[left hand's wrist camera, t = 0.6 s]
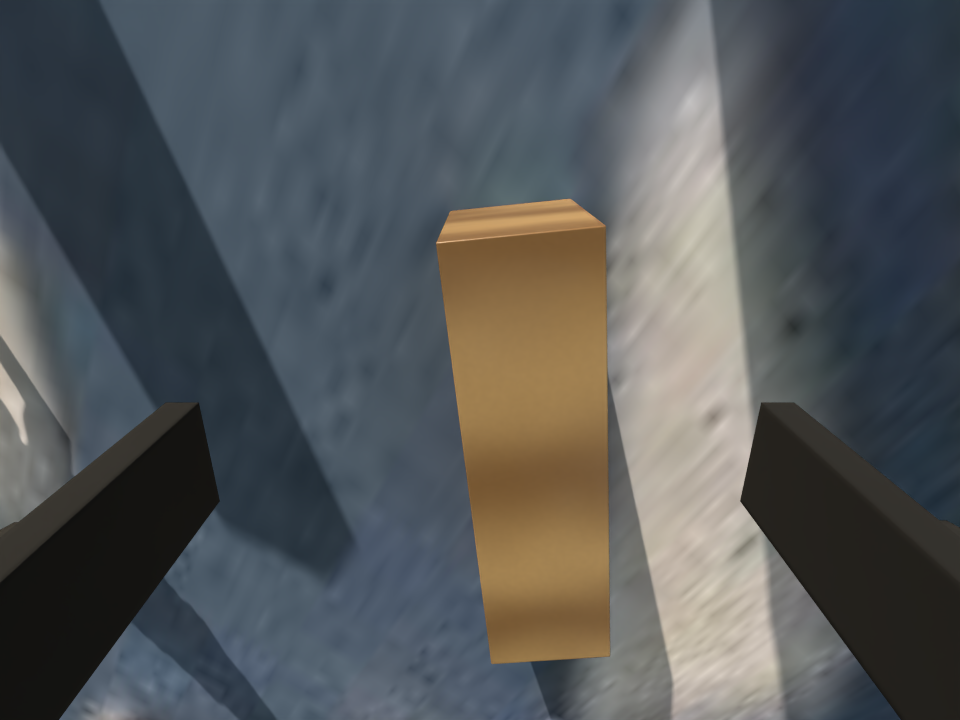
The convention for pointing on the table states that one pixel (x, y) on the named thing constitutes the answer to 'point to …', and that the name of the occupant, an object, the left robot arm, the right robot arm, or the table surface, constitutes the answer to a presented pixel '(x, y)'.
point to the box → (533, 420)
